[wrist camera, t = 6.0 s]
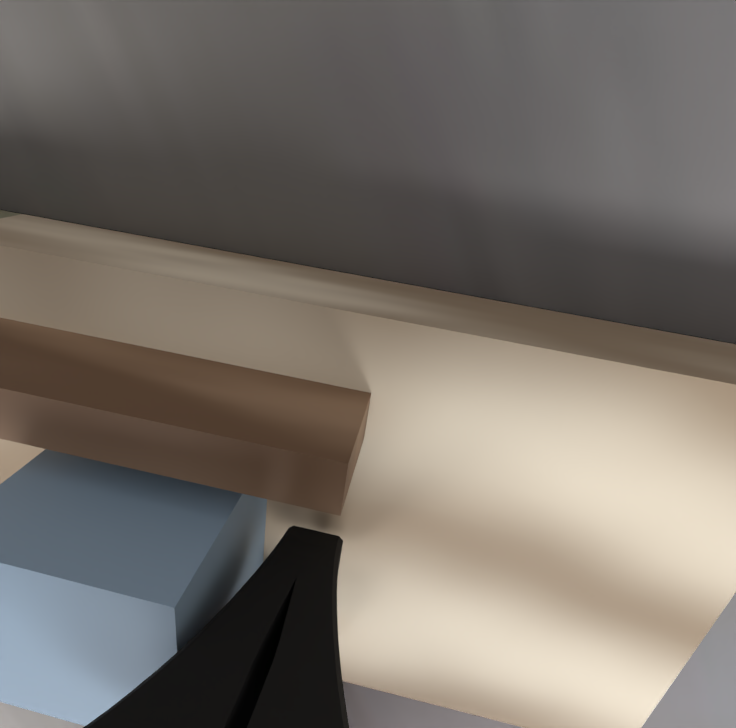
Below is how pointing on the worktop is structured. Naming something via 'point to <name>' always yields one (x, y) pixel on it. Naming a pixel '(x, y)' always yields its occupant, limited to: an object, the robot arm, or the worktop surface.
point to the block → (110, 577)
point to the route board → (404, 456)
